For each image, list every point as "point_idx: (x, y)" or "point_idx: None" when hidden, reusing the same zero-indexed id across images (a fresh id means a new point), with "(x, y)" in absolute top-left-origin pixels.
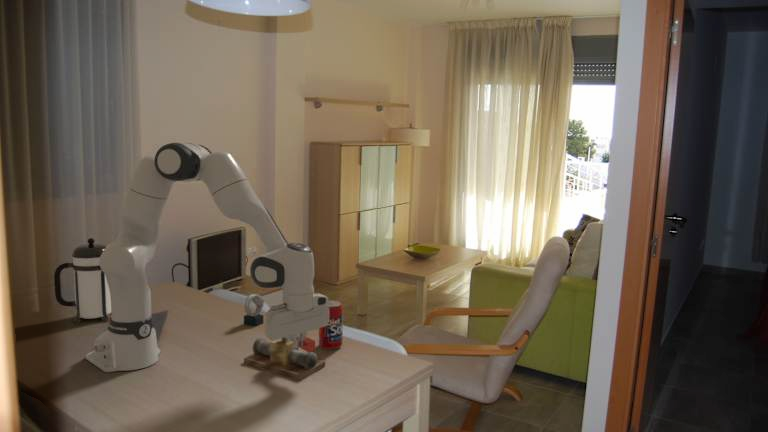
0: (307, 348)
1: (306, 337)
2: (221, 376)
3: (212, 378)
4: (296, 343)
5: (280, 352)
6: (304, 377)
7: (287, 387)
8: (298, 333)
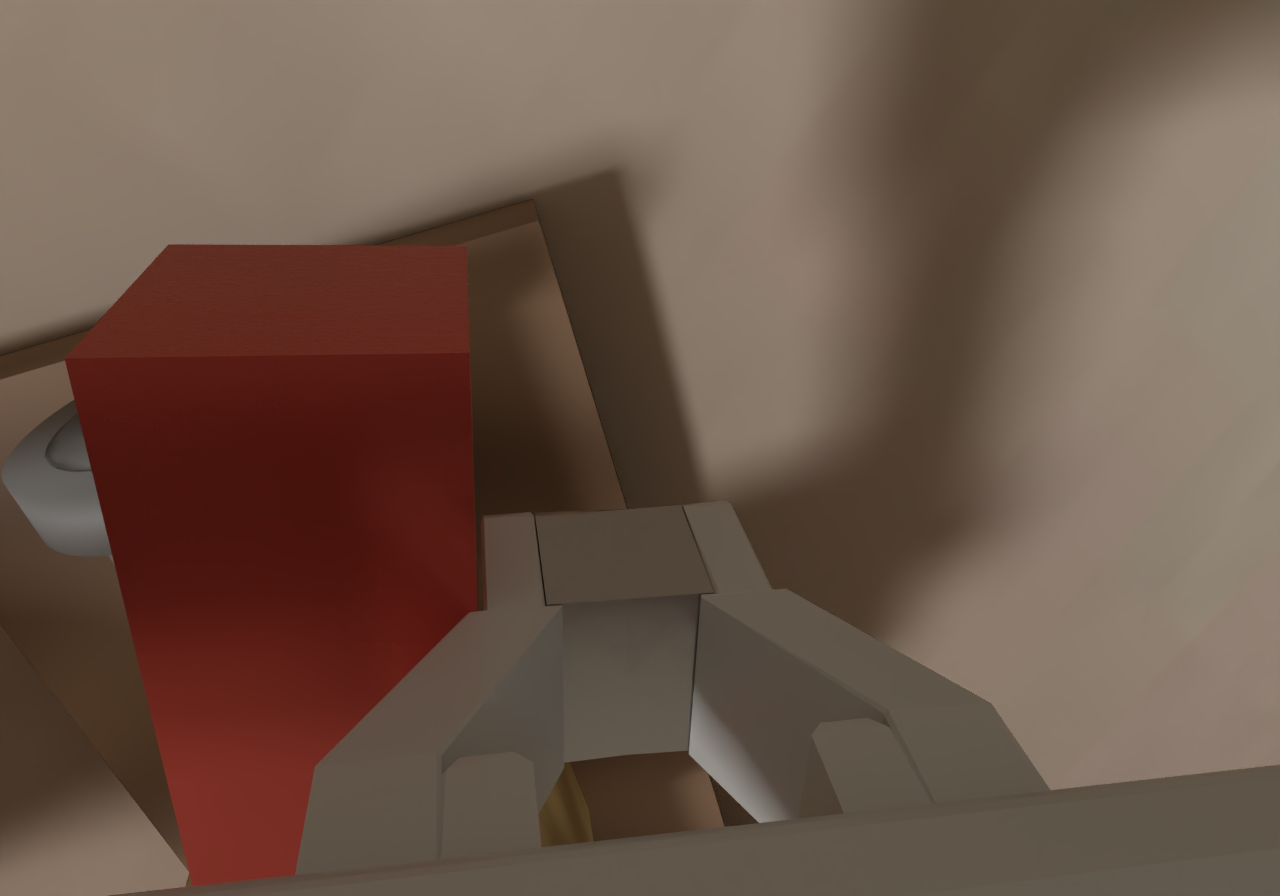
0: (466, 294)
1: (209, 784)
2: (1090, 774)
3: (1166, 775)
4: (752, 578)
5: (554, 825)
6: (435, 230)
7: (819, 127)
8: (891, 810)
